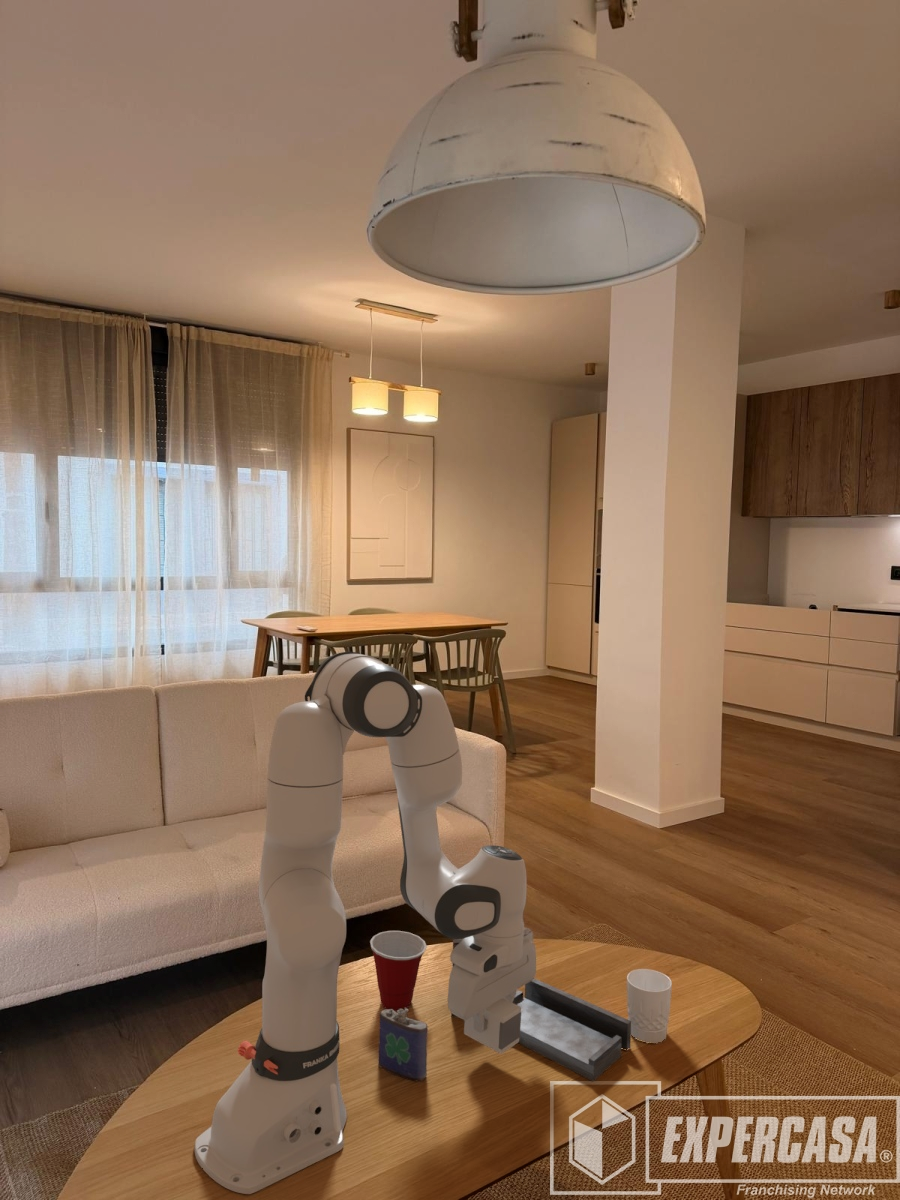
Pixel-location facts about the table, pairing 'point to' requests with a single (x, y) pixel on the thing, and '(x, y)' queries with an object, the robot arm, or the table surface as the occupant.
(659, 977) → the white cup
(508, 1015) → the block
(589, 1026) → the dark grey tray
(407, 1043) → the flask
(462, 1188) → the table surface
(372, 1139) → the table surface
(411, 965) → the plastic cup
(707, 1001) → the table surface
